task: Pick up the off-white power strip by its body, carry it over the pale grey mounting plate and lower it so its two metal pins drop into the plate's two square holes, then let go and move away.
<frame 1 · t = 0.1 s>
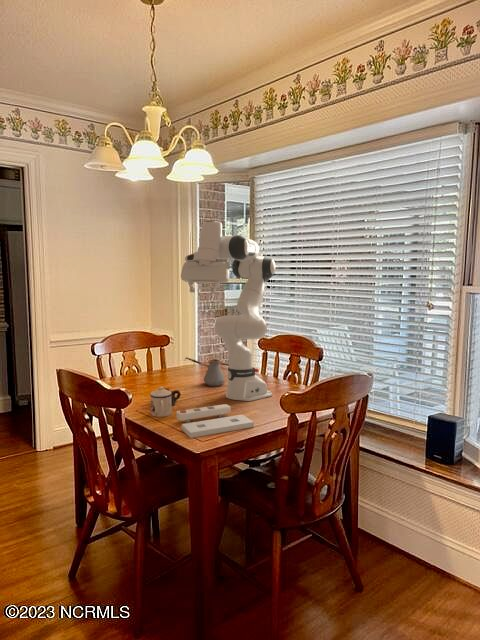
hand: (202, 292, 179), 52 cm above the table, tool tilted 20°, fingers open, 8 cm apart
coffee pot: (205, 385, 240), on the table
power strip: (204, 419, 186), on the table
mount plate: (218, 428, 175), on the table
teacup with lid: (161, 415, 191), on the table
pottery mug: (167, 404, 207), on the table
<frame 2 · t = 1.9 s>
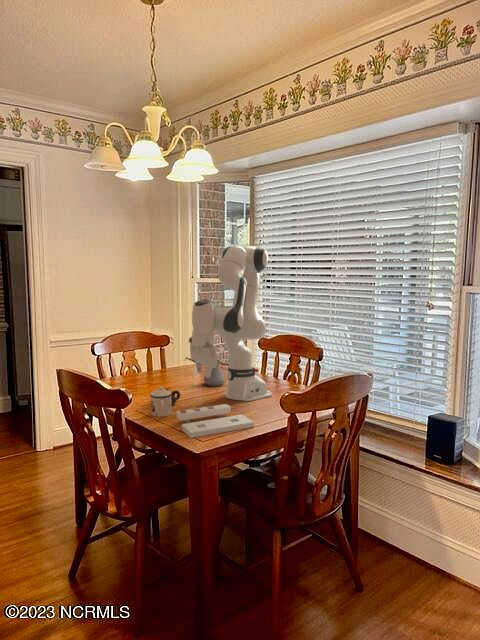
hand: (203, 374, 183), 19 cm above the table, tool pointing down, fingers open, 8 cm apart
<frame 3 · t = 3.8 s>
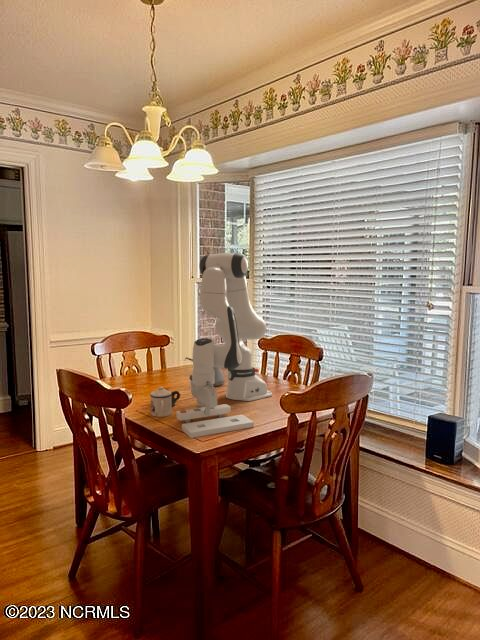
hand: (204, 412, 185), 3 cm above the table, tool pointing down, fingers closed on power strip, 4 cm apart
power strip: (204, 419, 186), on the table, touching gripper
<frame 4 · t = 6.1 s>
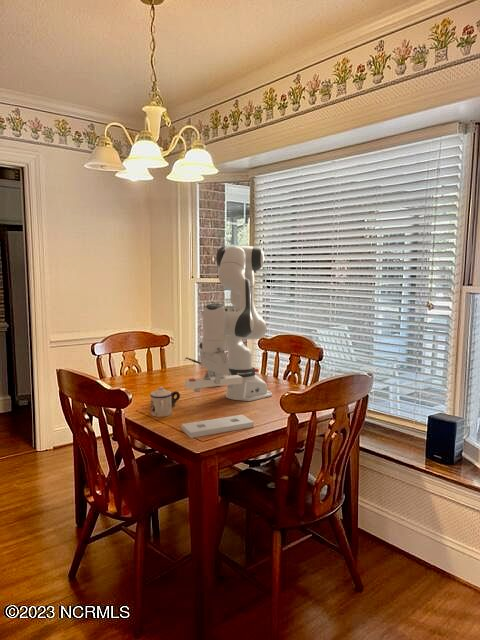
hand: (214, 382, 175), 18 cm above the table, tool pointing down, fingers closed on power strip, 4 cm apart
power strip: (214, 389, 175), point 15 cm above the table, touching gripper
when the fingers open (4 cm above the table, at t = 8.7 s): power strip stays where it is, resting on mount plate.
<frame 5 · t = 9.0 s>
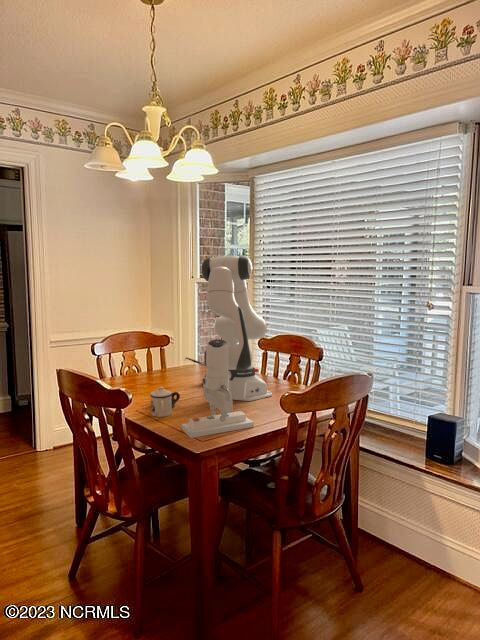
hand: (218, 417, 175), 4 cm above the table, tool pointing down, fingers open, 7 cm apart
power strip: (217, 427, 175), resting on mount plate
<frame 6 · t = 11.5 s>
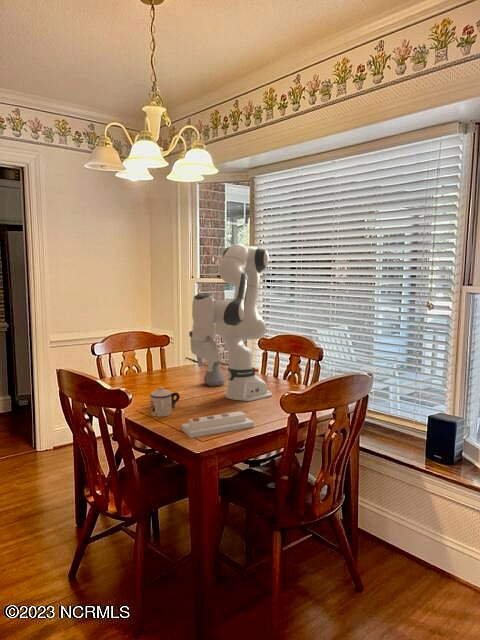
hand: (204, 368, 181), 21 cm above the table, tool pointing down, fingers open, 8 cm apart
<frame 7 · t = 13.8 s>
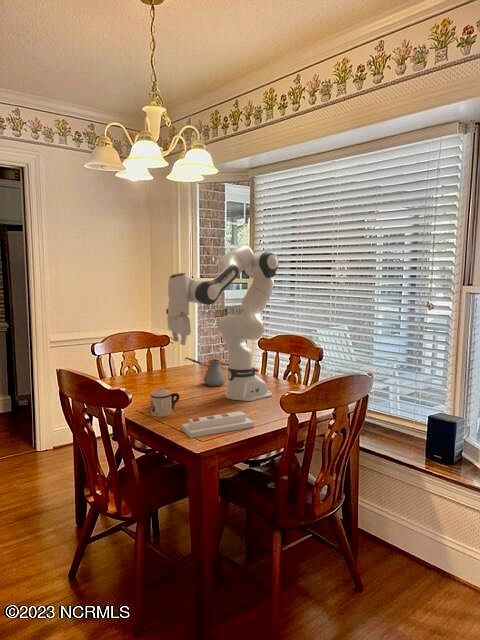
hand: (179, 343, 197), 29 cm above the table, tool pointing down, fingers open, 8 cm apart
at the end: power strip 0.1 cm off-centre on the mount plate, point 0.2 cm above the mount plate's base; power strip tilted 0°; the gripper is holding nothing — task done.
